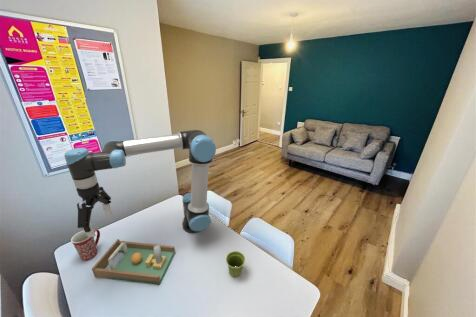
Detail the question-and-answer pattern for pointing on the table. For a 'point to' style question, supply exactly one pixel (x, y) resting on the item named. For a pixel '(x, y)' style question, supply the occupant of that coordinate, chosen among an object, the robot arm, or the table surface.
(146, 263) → the kicker
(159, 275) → the pitch
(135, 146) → the robot arm
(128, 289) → the table surface
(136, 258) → the ball
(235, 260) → the plant pot
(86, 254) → the mug
